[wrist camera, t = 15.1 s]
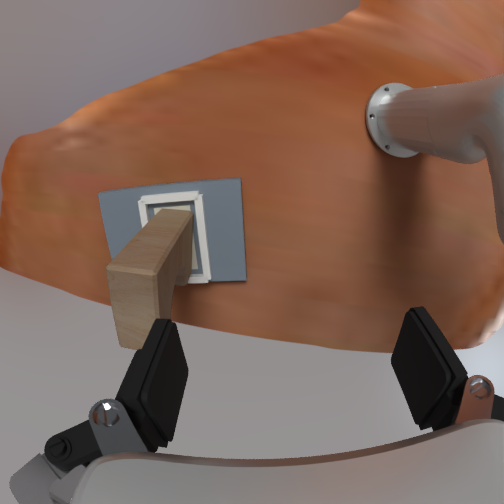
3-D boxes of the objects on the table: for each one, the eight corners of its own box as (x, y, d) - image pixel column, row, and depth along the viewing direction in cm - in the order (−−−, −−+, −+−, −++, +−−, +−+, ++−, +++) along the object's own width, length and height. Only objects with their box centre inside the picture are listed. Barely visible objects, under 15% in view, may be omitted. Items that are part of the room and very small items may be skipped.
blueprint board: (240, 177, 43) (240, 180, 41) (246, 275, 50) (246, 283, 48) (102, 191, 43) (95, 195, 41) (121, 278, 51) (116, 285, 48)
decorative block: (191, 273, 48) (162, 357, 30) (159, 269, 48) (117, 348, 29) (195, 210, 43) (157, 273, 25) (160, 206, 43) (103, 264, 25)
